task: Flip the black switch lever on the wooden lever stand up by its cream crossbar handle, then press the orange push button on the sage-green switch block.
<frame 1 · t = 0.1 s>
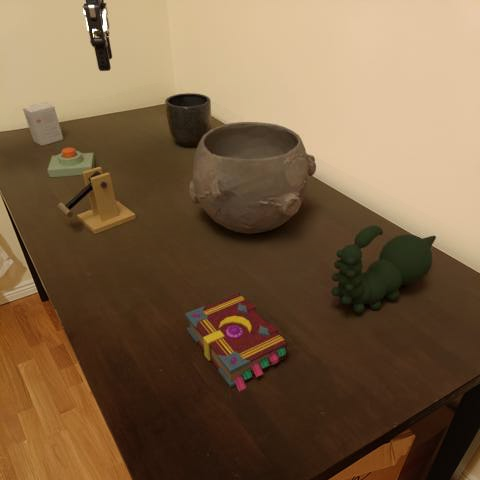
hand: (106, 64, 84), 33 cm above the table, tool pointing down, fingers open, 8 cm apart
planter: (191, 143, 140), on the table
switch lever: (82, 193, 98), point 8 cm above the table, hinge at -25.0°
small box: (48, 141, 141), on the table
toy figurine: (378, 295, 84), on the table
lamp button: (69, 153, 123), point 5 cm above the table, slide at 0.2 cm
switch block: (73, 168, 126), on the table
decorative book: (237, 348, 74), on the table
wooden lever stand: (107, 218, 105), on the table
bowl: (249, 223, 104), on the table
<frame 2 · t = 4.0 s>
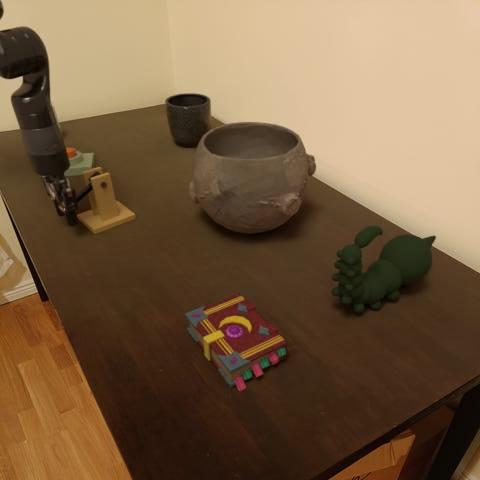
hand: (68, 219, 99), 3 cm above the table, tool pointing down, fingers closed on switch lever, 5 cm apart
switch lever: (82, 193, 98), point 8 cm above the table, hinge at -25.0°, touching gripper
everything else where it was.
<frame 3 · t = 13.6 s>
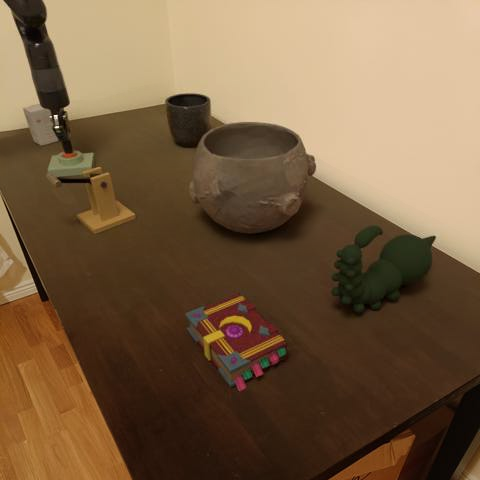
hand: (69, 152, 122), 5 cm above the table, tool pointing down, fingers closed
switch lever: (77, 180, 95), point 11 cm above the table, hinge at 17.5°
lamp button: (69, 155, 123), point 4 cm above the table, slide at -0.5 cm, touching gripper
everything else where it was.
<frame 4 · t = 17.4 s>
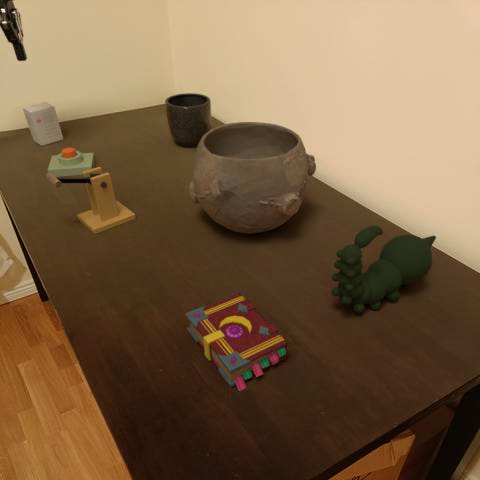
hand: (22, 60, 110), 27 cm above the table, tool pointing down, fingers closed
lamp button: (69, 153, 123), point 5 cm above the table, slide at 0.1 cm
everything else where it was.
at the end: switch lever at +18° (first picture: -25°); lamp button pushed in 1.1 cm at the most during the clip, back to where it started at the end; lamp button slide at 0.1 cm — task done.
